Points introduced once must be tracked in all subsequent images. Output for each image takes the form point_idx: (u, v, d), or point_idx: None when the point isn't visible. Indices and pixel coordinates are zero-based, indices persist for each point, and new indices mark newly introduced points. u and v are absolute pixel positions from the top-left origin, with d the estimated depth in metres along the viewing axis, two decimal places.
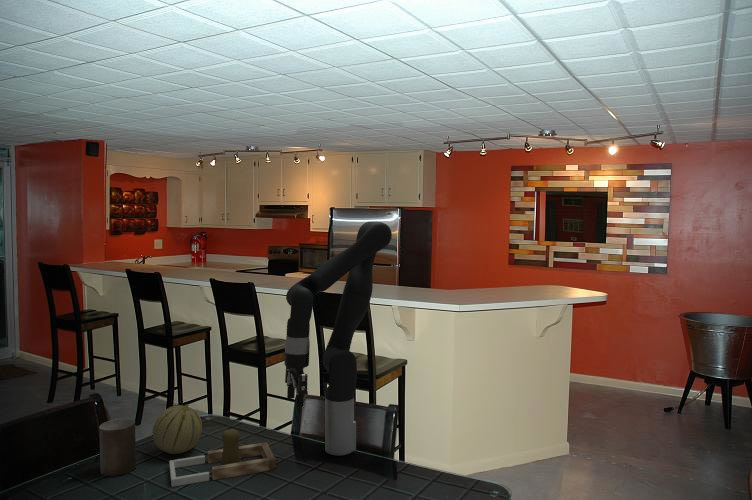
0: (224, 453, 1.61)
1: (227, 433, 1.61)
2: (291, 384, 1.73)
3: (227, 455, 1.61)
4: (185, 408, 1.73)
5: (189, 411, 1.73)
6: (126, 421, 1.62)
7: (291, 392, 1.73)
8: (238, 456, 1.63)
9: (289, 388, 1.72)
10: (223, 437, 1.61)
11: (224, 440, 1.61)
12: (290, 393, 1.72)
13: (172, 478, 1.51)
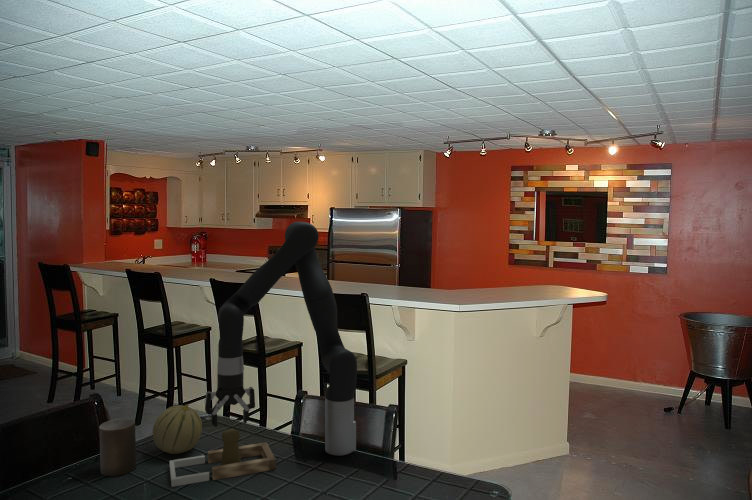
0: (224, 453, 1.61)
1: (227, 433, 1.61)
2: None
3: (227, 455, 1.61)
4: (185, 408, 1.73)
5: (189, 410, 1.73)
6: (126, 421, 1.62)
7: None
8: (238, 456, 1.63)
9: None
10: (223, 437, 1.61)
11: (224, 440, 1.61)
12: (216, 420, 1.61)
13: (172, 478, 1.51)
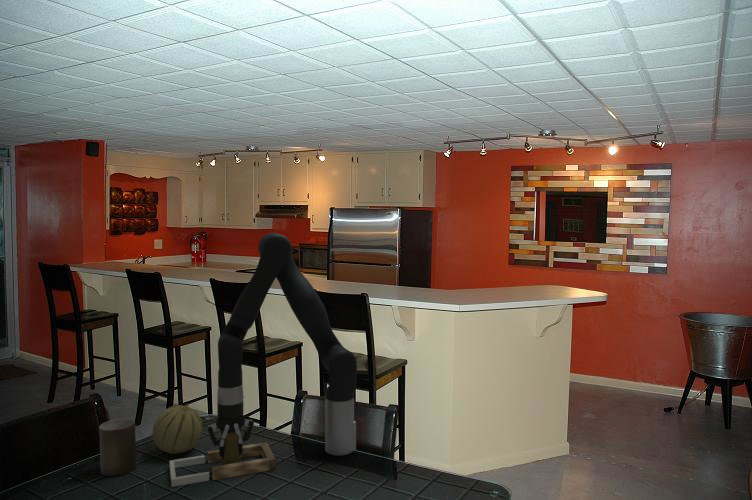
0: (224, 453, 1.61)
1: (227, 433, 1.61)
2: None
3: (227, 455, 1.61)
4: (185, 408, 1.73)
5: (189, 410, 1.73)
6: (126, 421, 1.62)
7: None
8: (238, 456, 1.63)
9: (224, 447, 1.62)
10: None
11: (224, 440, 1.61)
12: None
13: (172, 478, 1.51)
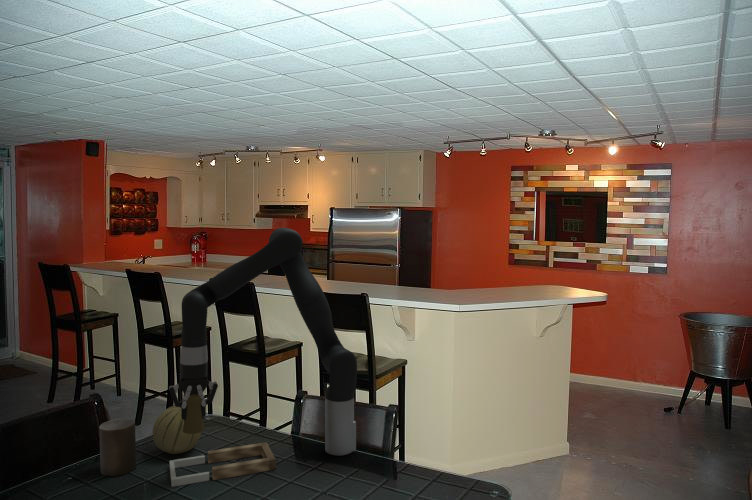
0: (186, 415, 1.56)
1: (190, 395, 1.56)
2: None
3: (189, 417, 1.56)
4: None
5: None
6: (126, 421, 1.62)
7: None
8: (201, 419, 1.58)
9: (186, 409, 1.57)
10: None
11: (186, 402, 1.56)
12: (186, 414, 1.57)
13: (172, 478, 1.51)
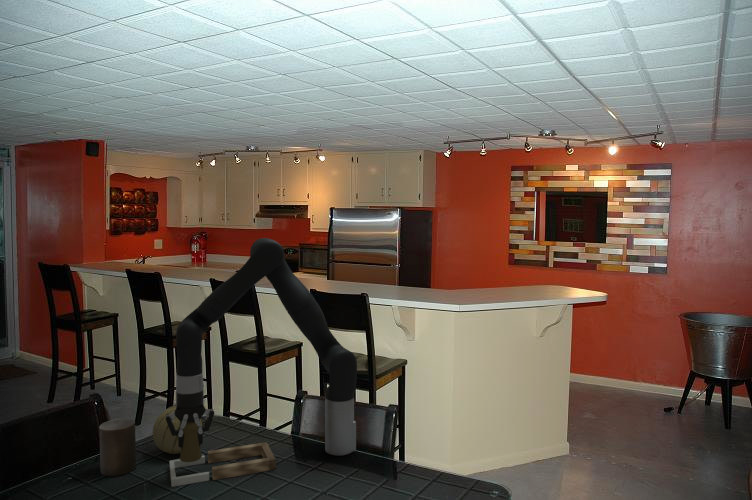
0: (183, 443, 1.57)
1: (186, 423, 1.56)
2: None
3: (186, 445, 1.56)
4: None
5: None
6: (126, 421, 1.62)
7: None
8: (198, 447, 1.58)
9: (183, 437, 1.57)
10: None
11: (183, 430, 1.56)
12: None
13: (172, 478, 1.51)
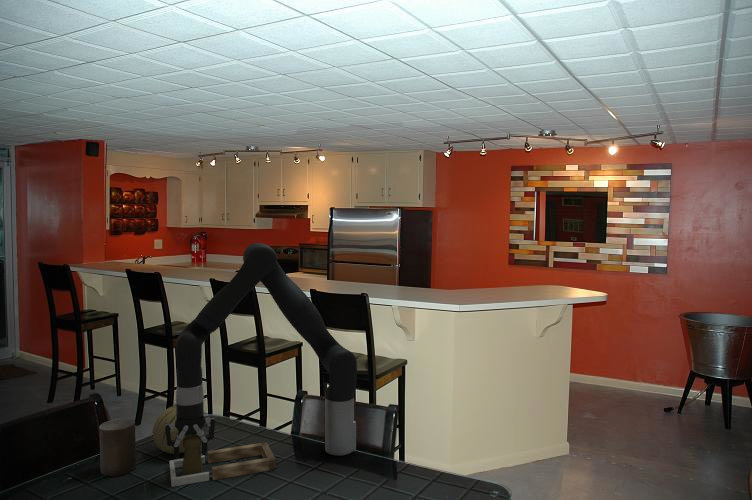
0: (185, 459, 1.57)
1: (188, 439, 1.57)
2: None
3: (187, 461, 1.56)
4: None
5: None
6: (126, 421, 1.62)
7: None
8: (199, 462, 1.58)
9: None
10: (184, 443, 1.57)
11: (184, 446, 1.56)
12: None
13: (172, 478, 1.51)
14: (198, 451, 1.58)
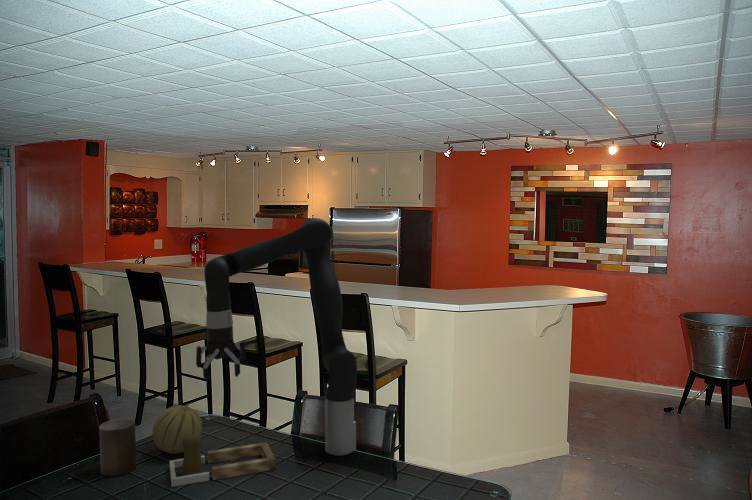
0: (185, 459, 1.57)
1: (188, 439, 1.57)
2: None
3: (187, 461, 1.56)
4: (185, 408, 1.73)
5: (189, 410, 1.73)
6: (126, 421, 1.62)
7: None
8: (199, 462, 1.58)
9: None
10: (183, 443, 1.57)
11: (184, 446, 1.56)
12: None
13: (172, 478, 1.51)
14: (198, 451, 1.58)
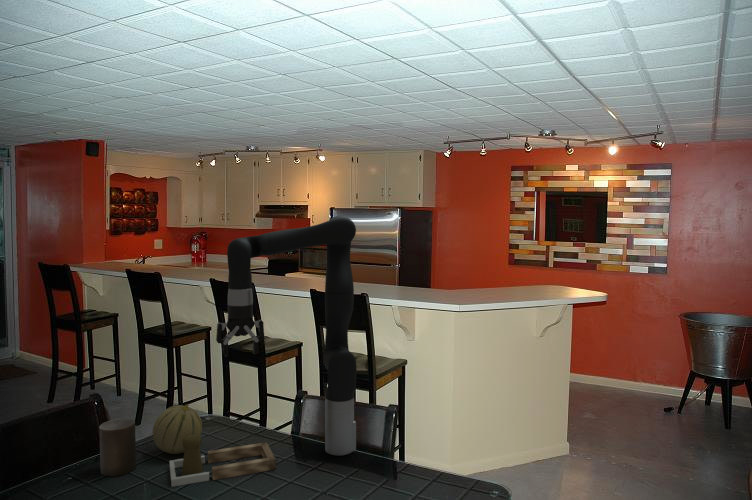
0: (185, 459, 1.57)
1: (188, 439, 1.57)
2: None
3: (187, 461, 1.56)
4: (185, 408, 1.73)
5: (189, 410, 1.73)
6: (126, 421, 1.62)
7: None
8: (199, 462, 1.58)
9: (227, 345, 1.66)
10: (184, 443, 1.57)
11: (184, 446, 1.56)
12: (227, 350, 1.67)
13: (172, 478, 1.51)
14: (198, 451, 1.58)
